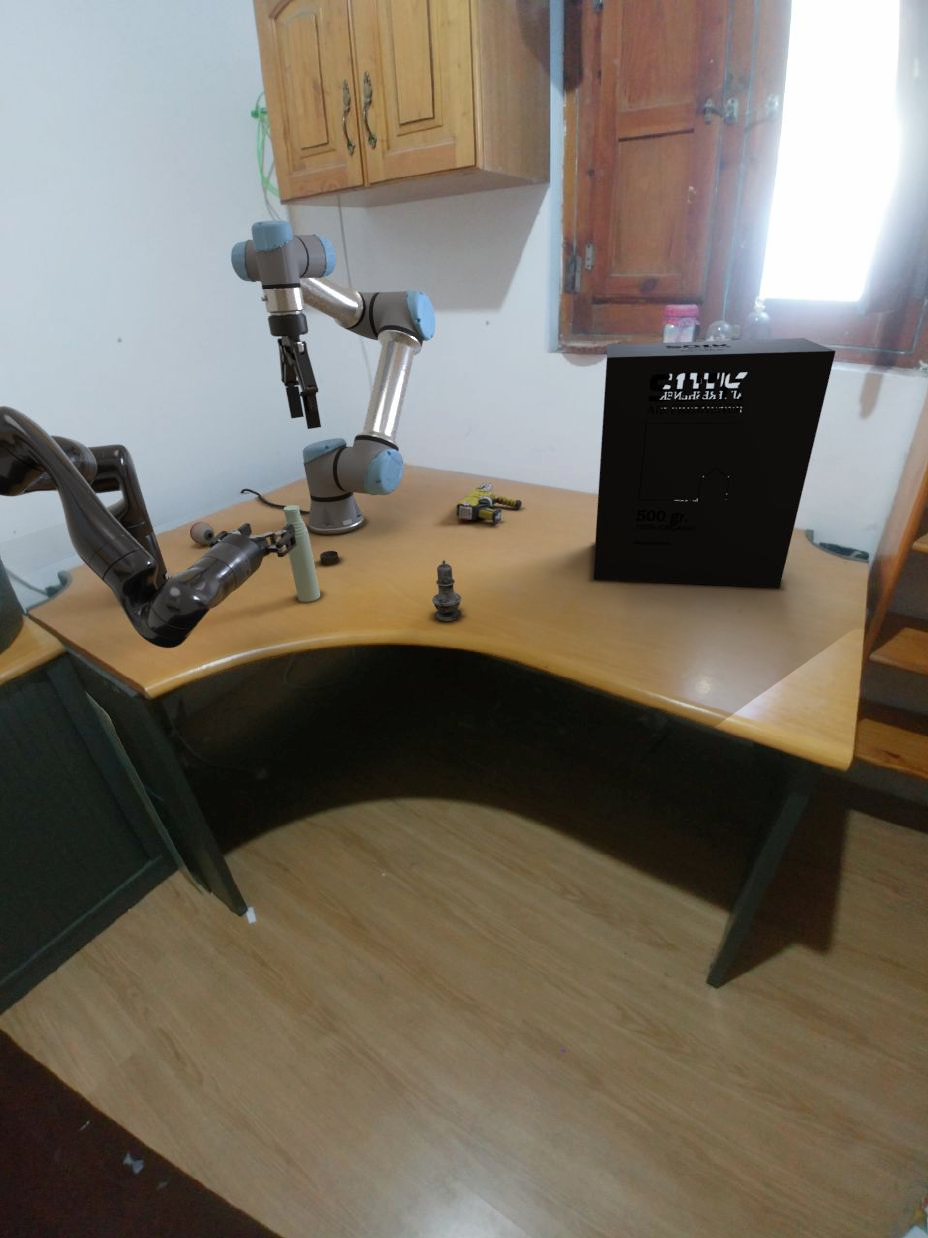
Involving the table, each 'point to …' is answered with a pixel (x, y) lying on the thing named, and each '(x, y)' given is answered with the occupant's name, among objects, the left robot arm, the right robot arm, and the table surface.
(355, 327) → the right robot arm
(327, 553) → the cap
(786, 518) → the cardboard box
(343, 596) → the table surface
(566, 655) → the table surface
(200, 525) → the eyeball
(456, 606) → the salt shaker
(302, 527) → the bottle
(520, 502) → the toy gun
